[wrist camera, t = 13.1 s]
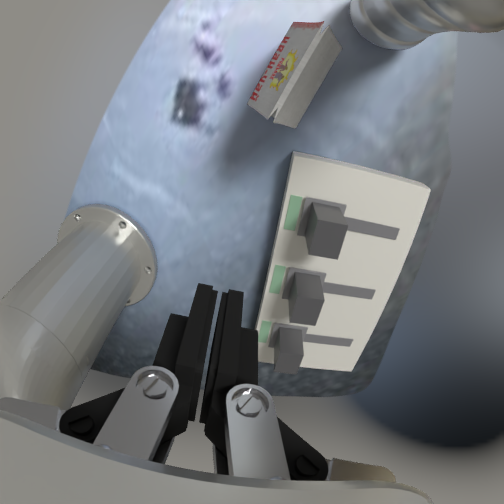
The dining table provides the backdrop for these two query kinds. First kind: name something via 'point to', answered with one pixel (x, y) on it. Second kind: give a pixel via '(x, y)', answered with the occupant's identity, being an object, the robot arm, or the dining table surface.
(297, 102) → the white printed box
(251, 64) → the dining table surface
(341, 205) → the block
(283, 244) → the panel
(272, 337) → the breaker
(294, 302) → the block
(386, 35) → the plastic bottle
